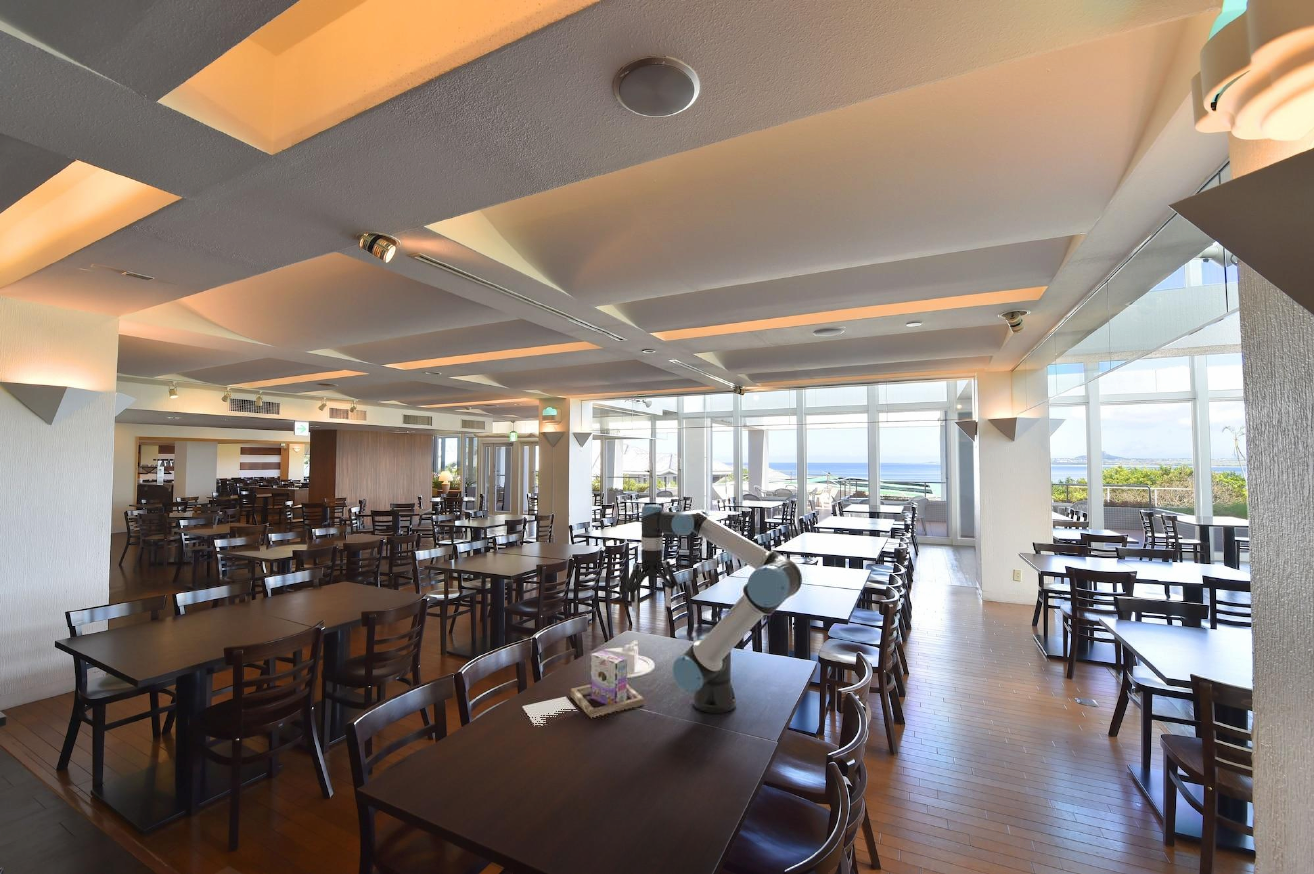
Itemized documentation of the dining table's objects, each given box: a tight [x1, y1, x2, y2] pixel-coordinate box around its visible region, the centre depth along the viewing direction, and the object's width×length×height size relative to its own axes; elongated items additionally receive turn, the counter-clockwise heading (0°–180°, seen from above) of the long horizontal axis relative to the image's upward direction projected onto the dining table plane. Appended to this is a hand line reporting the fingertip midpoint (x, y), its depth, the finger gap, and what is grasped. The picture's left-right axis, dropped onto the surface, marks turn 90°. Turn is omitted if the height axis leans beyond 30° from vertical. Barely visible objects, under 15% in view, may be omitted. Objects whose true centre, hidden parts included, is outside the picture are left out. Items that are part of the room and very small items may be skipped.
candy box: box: [590, 650, 628, 706], centre depth 193 cm, size 14×6×16 cm, turn 48°
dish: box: [603, 640, 656, 679], centre depth 225 cm, size 25×25×11 cm
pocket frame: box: [570, 684, 645, 719], centre depth 193 cm, size 20×20×3 cm
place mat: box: [521, 696, 578, 726], centre depth 183 cm, size 20×16×1 cm
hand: (651, 608), depth 189 cm, fingers open, 13 cm apart
